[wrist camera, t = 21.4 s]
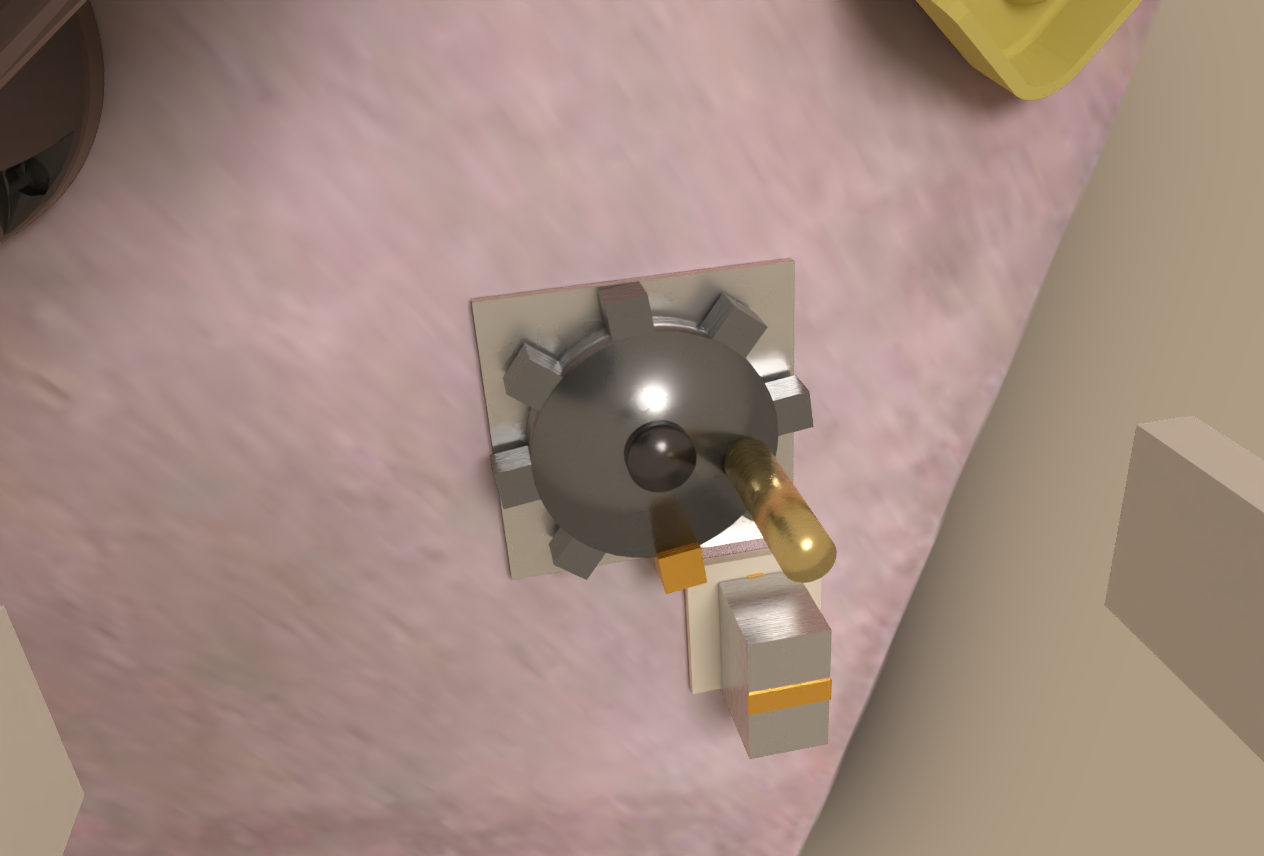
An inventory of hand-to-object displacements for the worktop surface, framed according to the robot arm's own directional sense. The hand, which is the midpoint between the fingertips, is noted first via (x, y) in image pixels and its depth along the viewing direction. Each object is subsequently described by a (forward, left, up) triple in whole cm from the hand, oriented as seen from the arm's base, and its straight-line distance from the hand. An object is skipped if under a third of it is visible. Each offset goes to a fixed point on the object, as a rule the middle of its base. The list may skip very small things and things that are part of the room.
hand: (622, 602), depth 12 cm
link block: (+11, -27, -31) cm, 42 cm away
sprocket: (+6, -14, -32) cm, 35 cm away
